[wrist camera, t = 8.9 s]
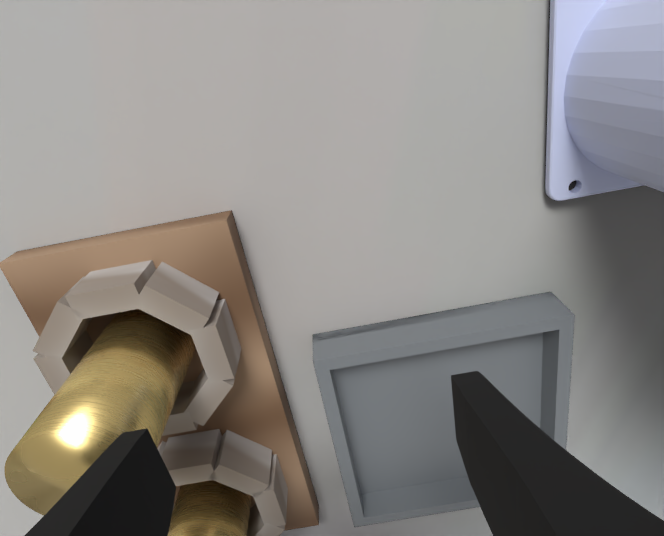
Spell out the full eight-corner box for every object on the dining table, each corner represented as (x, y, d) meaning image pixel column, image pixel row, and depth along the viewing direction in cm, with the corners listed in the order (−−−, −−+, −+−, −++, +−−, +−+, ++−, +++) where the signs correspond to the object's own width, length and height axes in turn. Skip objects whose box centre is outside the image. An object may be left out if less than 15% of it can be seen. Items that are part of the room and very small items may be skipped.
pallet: (16, 251, 18) (-39, 288, 15) (231, 210, 18) (216, 239, 15) (166, 530, 26) (148, 589, 23) (318, 505, 25) (319, 562, 23)
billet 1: (180, 294, 18) (109, 423, 12) (207, 365, 19) (157, 512, 13) (94, 310, 18) (-21, 446, 12) (127, 379, 20) (41, 532, 13)
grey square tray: (550, 291, 20) (574, 314, 18) (544, 461, 25) (563, 493, 23) (312, 334, 20) (313, 361, 19) (351, 493, 25) (354, 527, 23)
